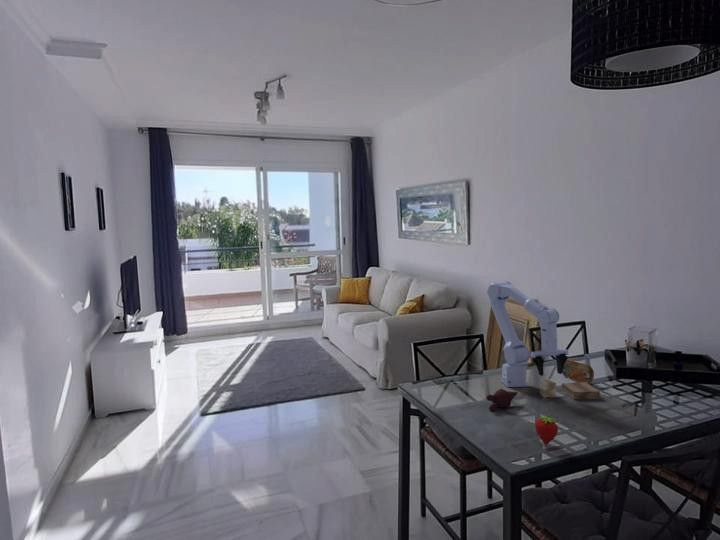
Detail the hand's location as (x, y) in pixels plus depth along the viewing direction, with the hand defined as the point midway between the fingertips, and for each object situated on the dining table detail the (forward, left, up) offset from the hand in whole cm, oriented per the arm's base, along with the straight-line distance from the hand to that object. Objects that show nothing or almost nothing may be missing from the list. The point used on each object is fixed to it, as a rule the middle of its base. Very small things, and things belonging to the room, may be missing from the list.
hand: (550, 374), depth 183 cm
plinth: (+12, 0, -9) cm, 15 cm away
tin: (+19, +16, -9) cm, 26 cm away
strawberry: (-19, -39, -9) cm, 44 cm away
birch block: (-1, 0, -9) cm, 9 cm away
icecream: (-22, -9, -9) cm, 26 cm away
